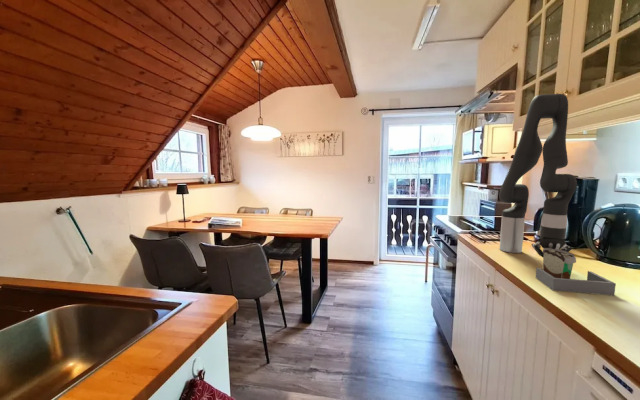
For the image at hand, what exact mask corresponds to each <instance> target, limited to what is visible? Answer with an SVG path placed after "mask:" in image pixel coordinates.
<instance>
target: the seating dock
mask: <svg viewBox="0 0 640 400" xmlns="http://www.w3.org/2000/svg"><path fill="white" fill-rule="evenodd" d="M535 279H536V280H538V281H539V282H540V283H542V284H543V285H545V286H546V287H547V288H549V289H550V290H551V291H557V292H569V293H579V294H580V293H581V294H582V293H583V294H593V295H607V296H615V295H616V294H615V293H616V283H615V282H614V281H611V280H610V279H607V278H605V277H604V276H601V275H599V274H597V273H595V272H594V271H589V270H587V277H586V279H575V278H574V279H573V278H570V279H562V278H555V277H553V276H551V275H550V274H548V273H547V272H545V271H544V270H543V268H540V267H536V270H535Z"/></svg>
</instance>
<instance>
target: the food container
mask: <svg viewBox="0 0 640 400" xmlns="http://www.w3.org/2000/svg"><path fill="white" fill-rule="evenodd" d="M542 253H543V257H542V260H543V262H542V270H544V271H545V272H547V273H548V274H550V275H551V276H553V277H555V278H562V279H571V274H572V271H573V266H574V264H575V263H577V258H576V256H575V254H574V253H572V252H570V251H569V252H566V251H562V250H557V249H550V248H544V249H543V248H542Z"/></svg>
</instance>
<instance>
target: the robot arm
mask: <svg viewBox="0 0 640 400" xmlns="http://www.w3.org/2000/svg"><path fill="white" fill-rule="evenodd" d="M568 116H569V100H568V97H567V95H566V94H563V93H549V94H547V93H546V94H538V95H535V96H534V97H533V98H532V100H531V101H530V103H529V107H528V110H527V113H526V117H525V122H524V125H523V128H522V132H521V136H520V139H519V141H518V144H517V146H516V149H515V152H514V154H513V157H512V162H511V164H510V167H509V170H508V172H507V173H506V176H505V179H504V181H503V182H502V185H501V187H500V190H499V194H498V198H499V200H500V201H501V203H505V204H513V206H511V207H509V208H505V209H503V210H502V211H501V223H500V224H501V226H500V237H499V250H500V251H502V252H507V253H513V254H521V253H523V245H524V244H523V243H524V232H525V222H526V221H525V219H526V213H527V210H528V203H529V196H530V195H529V193H530V191H529V187H528V185H526V184H524V183H523V184H522V183H521V184H520V183H519V184H517V183H518V181H519V180H520V179H521V178H522V177H524V175H526V174H527V173H528V172H530V171H531V170H532V169H533V168H534V167H535V166H536V165H537V164H538V163H539V161H540V158H541V155H542V159H543V160H542V161H543V168H542V171H541V175H540V179H539V180H540V181H539V186H540V188H541V189H542V191H544V192H545V193H556V194H555V195H554V197H550V198H546V199H545V200H544V202H543V209H542V210H543V211H542V215H541V222H540V229H539V238H538V239H537V240H538V241H537V242H535V243H531V247H532V248H533V250H534V251H535V252H536V253H537V255H539V257H542V258H543V253H542V252H543V249H544V248H550V249H557V250H562V251H566V252H569V253H570V251H571V250H572V249H573V247H571V246H569V245H567V243H566V240H565V239H566V235H567V234H566V233H567V232H566V231H567V226H568V210H569V209H568V208H569V203H570V201H571V200H572V197H573V195H574V193H575V191H576V189H577V186H578V185H577V184H578V181H577V179H576V177H575V176H574V175H573V174H571V173H556V172H557V170H558V169H563V168H566V167H567V166H568V164H569V162H568V161H569V159H568V152H567V151H568V150H567V141H566V140H567V128H568V127H567V126H568ZM542 119H545V120H546V119H552V128H551V130H550V133H549V135H547V138H546V139H545V141H544V143H542V141H541V139H540V136H539V131H538V129H539V124H540V121H541V120H542ZM541 248H542V249H541Z"/></svg>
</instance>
